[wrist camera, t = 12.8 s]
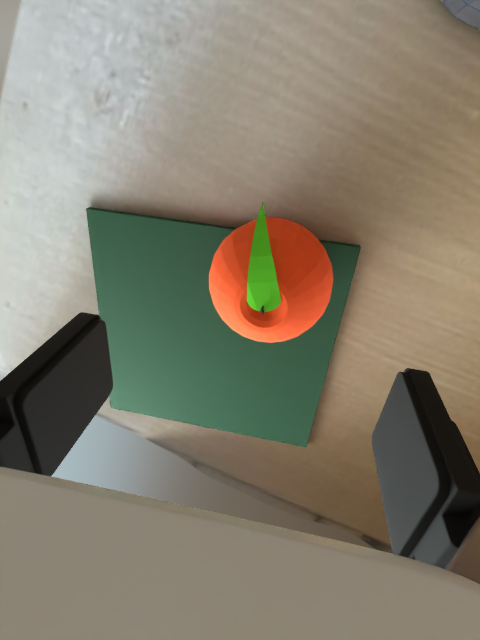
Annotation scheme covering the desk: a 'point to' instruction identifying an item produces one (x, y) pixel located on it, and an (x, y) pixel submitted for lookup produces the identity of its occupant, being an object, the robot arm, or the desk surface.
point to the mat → (202, 332)
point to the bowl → (465, 11)
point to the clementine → (270, 279)
